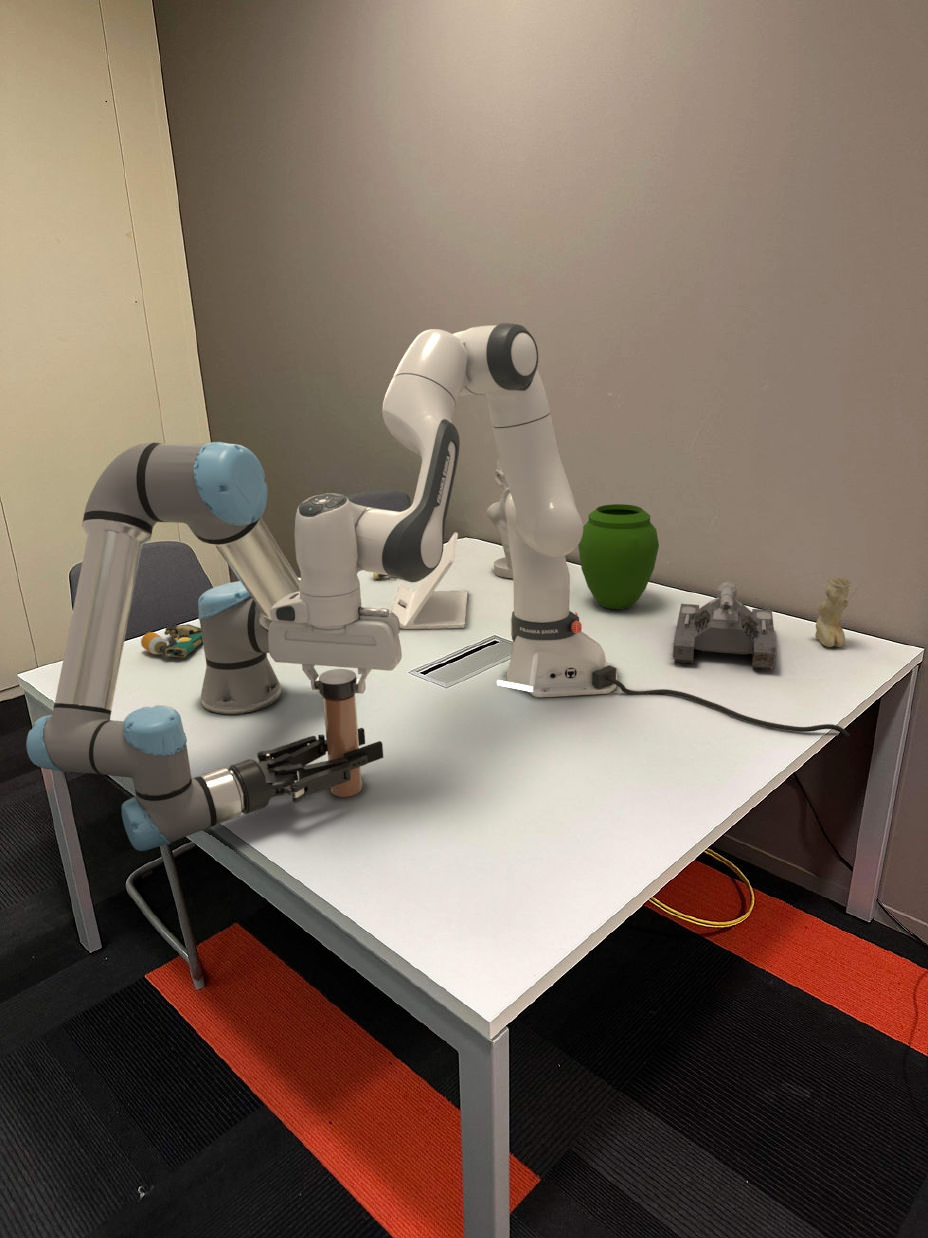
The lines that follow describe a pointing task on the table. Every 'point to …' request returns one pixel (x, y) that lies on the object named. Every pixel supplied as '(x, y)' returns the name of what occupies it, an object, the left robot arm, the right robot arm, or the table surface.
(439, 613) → the tablet stand
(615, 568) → the vase
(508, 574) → the bust sculpture
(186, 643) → the spray gun
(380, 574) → the toy gun
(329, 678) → the lid
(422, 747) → the table surface
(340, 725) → the jar
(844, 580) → the sculpture
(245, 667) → the left robot arm
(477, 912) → the table surface
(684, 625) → the toy
